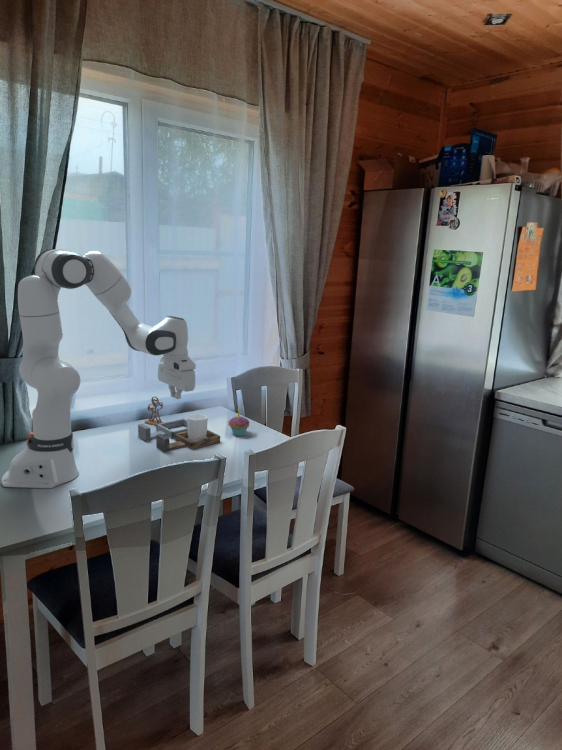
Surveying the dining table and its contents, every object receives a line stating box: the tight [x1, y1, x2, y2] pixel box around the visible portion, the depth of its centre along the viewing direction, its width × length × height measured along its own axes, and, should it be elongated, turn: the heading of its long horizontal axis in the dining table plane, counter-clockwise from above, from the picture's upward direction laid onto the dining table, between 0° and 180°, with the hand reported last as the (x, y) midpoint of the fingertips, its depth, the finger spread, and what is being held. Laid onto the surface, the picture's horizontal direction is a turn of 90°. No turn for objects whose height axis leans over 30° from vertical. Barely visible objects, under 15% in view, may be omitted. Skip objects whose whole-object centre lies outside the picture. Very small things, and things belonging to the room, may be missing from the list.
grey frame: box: [137, 417, 188, 442], centre depth 220 cm, size 22×12×5 cm, turn 132°
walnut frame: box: [155, 429, 221, 453], centre depth 210 cm, size 22×12×5 cm, turn 132°
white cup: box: [186, 413, 209, 442], centre depth 212 cm, size 8×8×10 cm
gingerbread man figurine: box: [144, 396, 164, 427], centre depth 230 cm, size 9×4×12 cm, turn 59°
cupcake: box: [227, 408, 250, 437], centre depth 222 cm, size 9×8×12 cm
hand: (175, 397), depth 203 cm, fingers closed
